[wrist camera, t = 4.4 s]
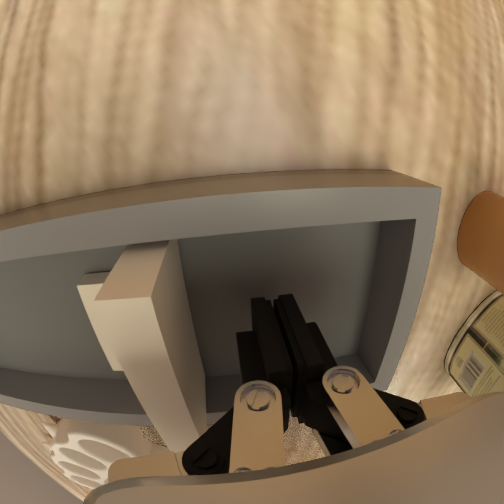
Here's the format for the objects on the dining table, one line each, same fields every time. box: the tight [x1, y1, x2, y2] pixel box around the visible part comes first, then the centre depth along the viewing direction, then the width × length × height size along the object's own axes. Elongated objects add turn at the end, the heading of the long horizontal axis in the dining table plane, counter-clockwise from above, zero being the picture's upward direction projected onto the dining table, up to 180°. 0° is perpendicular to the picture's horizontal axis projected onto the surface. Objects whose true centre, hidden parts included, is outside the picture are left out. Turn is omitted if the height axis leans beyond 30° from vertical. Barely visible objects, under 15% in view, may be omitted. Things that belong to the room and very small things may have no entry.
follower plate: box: [77, 239, 207, 453], centre depth 10 cm, size 8×4×5 cm, turn 3°
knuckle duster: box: [41, 418, 170, 489], centre depth 19 cm, size 3×18×15 cm
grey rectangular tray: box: [0, 170, 441, 426], centre depth 11 cm, size 11×28×4 cm, turn 93°
